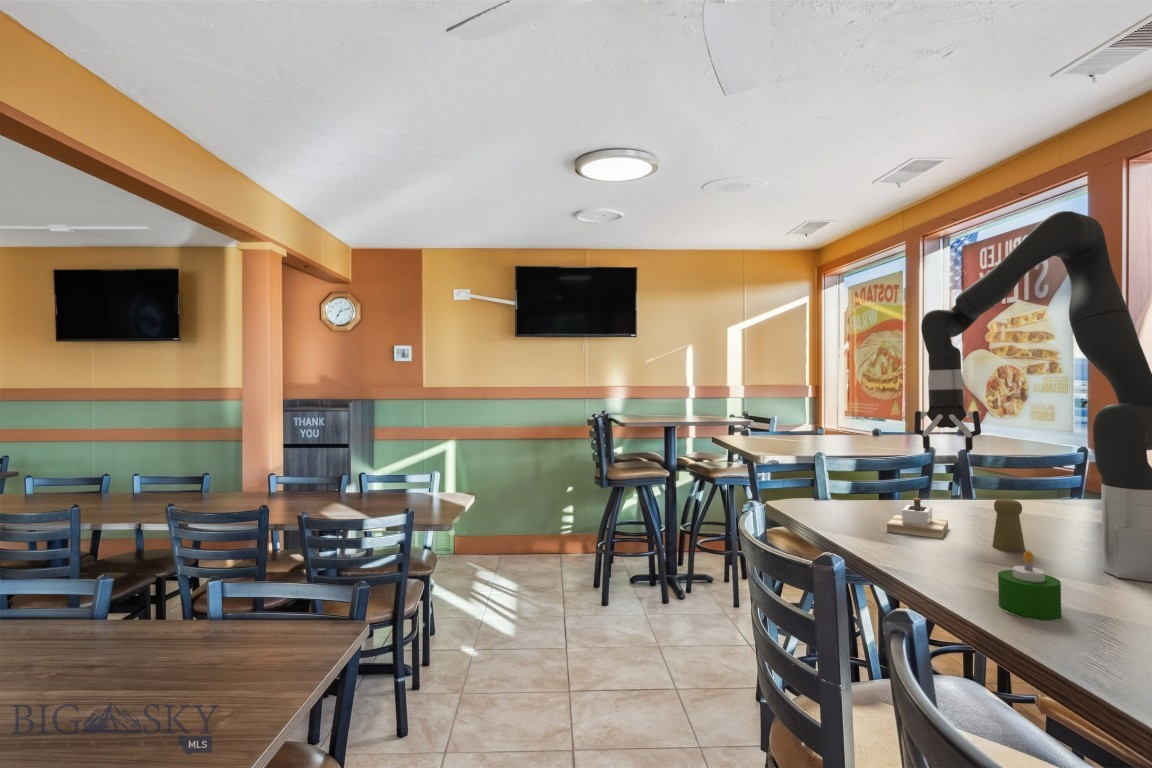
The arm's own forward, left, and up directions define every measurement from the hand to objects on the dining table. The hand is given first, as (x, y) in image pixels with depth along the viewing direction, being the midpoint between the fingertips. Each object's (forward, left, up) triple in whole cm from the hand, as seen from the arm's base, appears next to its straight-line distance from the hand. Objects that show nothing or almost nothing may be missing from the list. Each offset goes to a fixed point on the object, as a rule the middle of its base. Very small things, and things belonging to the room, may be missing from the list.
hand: (947, 451), depth 150 cm
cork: (-11, -12, -20) cm, 26 cm away
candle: (-53, -16, -20) cm, 59 cm away
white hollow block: (-4, +7, -18) cm, 20 cm away
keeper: (-4, +7, -20) cm, 21 cm away
